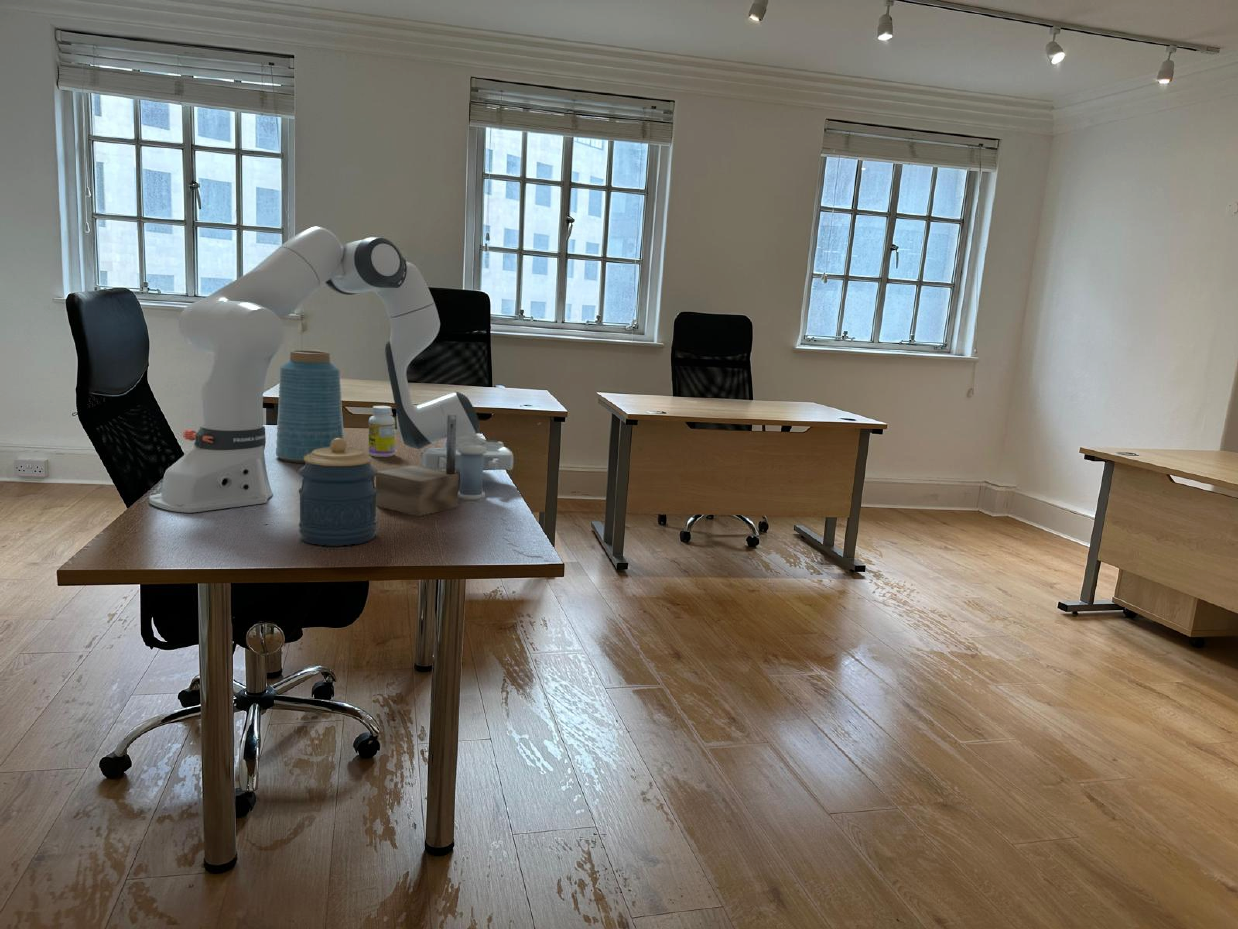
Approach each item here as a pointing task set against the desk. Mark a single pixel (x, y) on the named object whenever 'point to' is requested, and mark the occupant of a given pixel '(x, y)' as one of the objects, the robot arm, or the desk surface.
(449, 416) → the hook post
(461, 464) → the cord spool
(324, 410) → the vase
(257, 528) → the desk surface
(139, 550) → the desk surface
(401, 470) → the walnut shelf block
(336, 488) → the canister
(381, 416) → the supplement bottle
